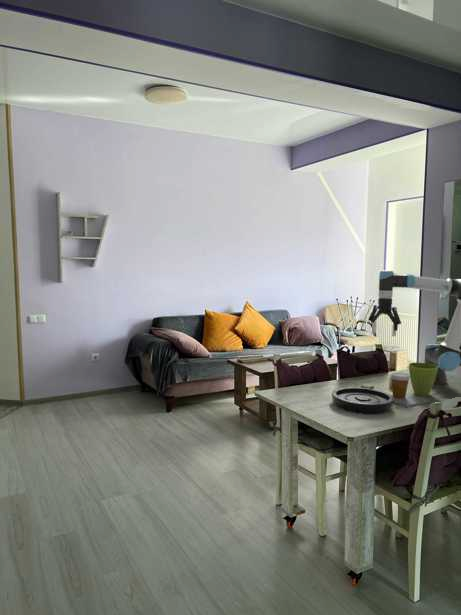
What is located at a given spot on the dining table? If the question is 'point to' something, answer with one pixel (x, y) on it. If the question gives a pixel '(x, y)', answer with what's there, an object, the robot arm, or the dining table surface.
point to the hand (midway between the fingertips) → (383, 334)
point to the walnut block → (367, 386)
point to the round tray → (362, 400)
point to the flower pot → (422, 377)
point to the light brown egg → (390, 382)
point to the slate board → (409, 401)
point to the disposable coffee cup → (399, 384)
